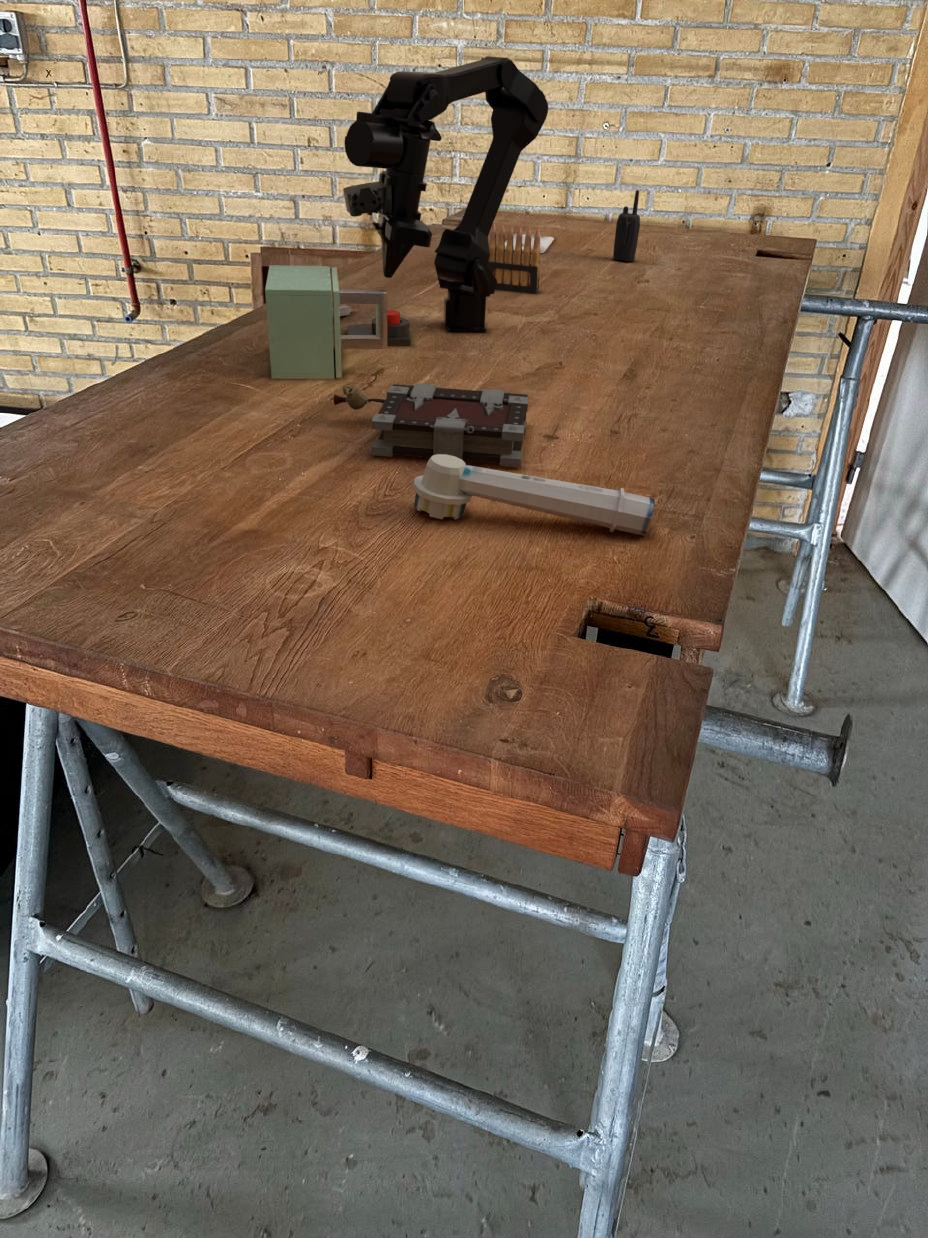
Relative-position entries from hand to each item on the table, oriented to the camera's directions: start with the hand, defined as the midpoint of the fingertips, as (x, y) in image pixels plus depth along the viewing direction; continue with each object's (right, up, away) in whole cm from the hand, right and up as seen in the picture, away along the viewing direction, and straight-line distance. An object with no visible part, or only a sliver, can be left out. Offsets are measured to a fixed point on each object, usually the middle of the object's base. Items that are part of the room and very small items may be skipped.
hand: (387, 276), depth 144 cm
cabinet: (-12, -15, -5) cm, 20 cm away
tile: (+30, +31, +68) cm, 81 cm away
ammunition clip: (+22, +12, +39) cm, 46 cm away
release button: (0, -5, +6) cm, 8 cm away
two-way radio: (+49, +28, +66) cm, 87 cm away
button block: (-2, -8, +7) cm, 11 cm away
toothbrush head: (+19, -43, -46) cm, 66 cm away
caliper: (-11, -4, +12) cm, 17 cm away
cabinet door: (-4, -15, -4) cm, 16 cm away
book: (+7, -31, -28) cm, 43 cm away
